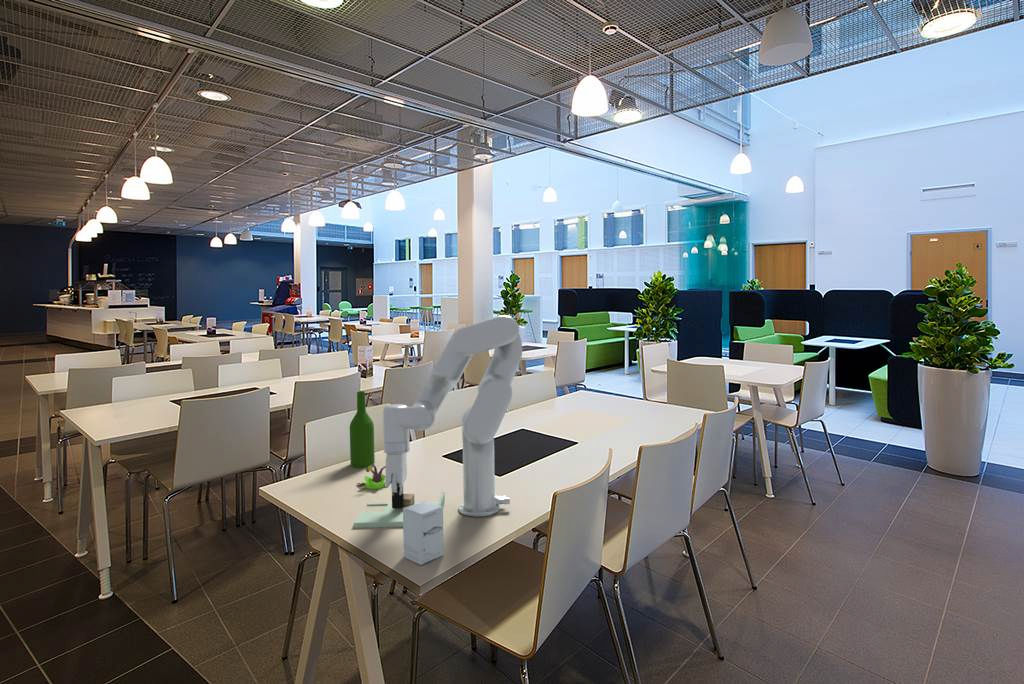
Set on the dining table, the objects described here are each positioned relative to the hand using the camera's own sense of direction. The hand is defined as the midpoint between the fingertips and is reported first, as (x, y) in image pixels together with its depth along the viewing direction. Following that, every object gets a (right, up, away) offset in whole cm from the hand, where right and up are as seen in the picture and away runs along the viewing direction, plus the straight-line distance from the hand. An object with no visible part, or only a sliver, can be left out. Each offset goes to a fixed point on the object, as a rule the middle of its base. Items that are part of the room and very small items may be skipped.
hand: (397, 507), depth 158 cm
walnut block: (+1, -1, +4) cm, 5 cm away
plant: (-13, -4, +24) cm, 27 cm away
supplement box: (+12, -5, -25) cm, 28 cm away
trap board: (+1, -4, 0) cm, 4 cm away
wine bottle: (-23, -3, +46) cm, 52 cm away
